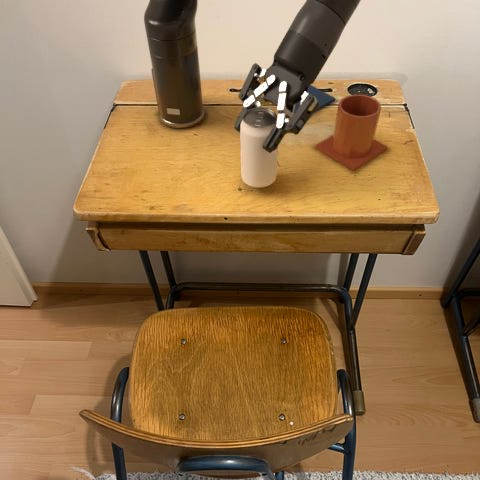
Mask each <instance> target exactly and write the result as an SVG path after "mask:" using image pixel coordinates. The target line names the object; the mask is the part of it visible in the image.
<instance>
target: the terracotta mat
mask: <svg viewBox="0 0 480 480" xmlns="http://www.w3.org/2000/svg"><path fill="white" fill-rule="evenodd" d="M332 142H333V135H331V136H329V137H328V138H326V139H324V140H323V141H321V142H319V143H317V144H316V145H315V149H316V150H318V151H319V152H321V153H323V154H325V155H326V156H328V157H330V158H331V159H332V160H334V161H335V162H338V163H339V164H341V165H343V166H344V167H346V168H347V169H349V170H351V171H352V172H355V171H356V170H358V169H359V168H361V167H363V166H364V165H366V164H367V163H369V162H370V161H372V160H374V159H375V158H377V157H378V156H380V155H381V154H383V153H385V152H386V151H388V148H389V146H387V145H385V144H383V143H382V142H380V141H378V140H376V139H374V141H373V145H372V149H371V151H370V153H369V154H367V155H365V156H364V157H359V158H348V157H344V156H341V155H339V154H338V153H336V152H335V151H334V149H333V147H332Z"/></svg>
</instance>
